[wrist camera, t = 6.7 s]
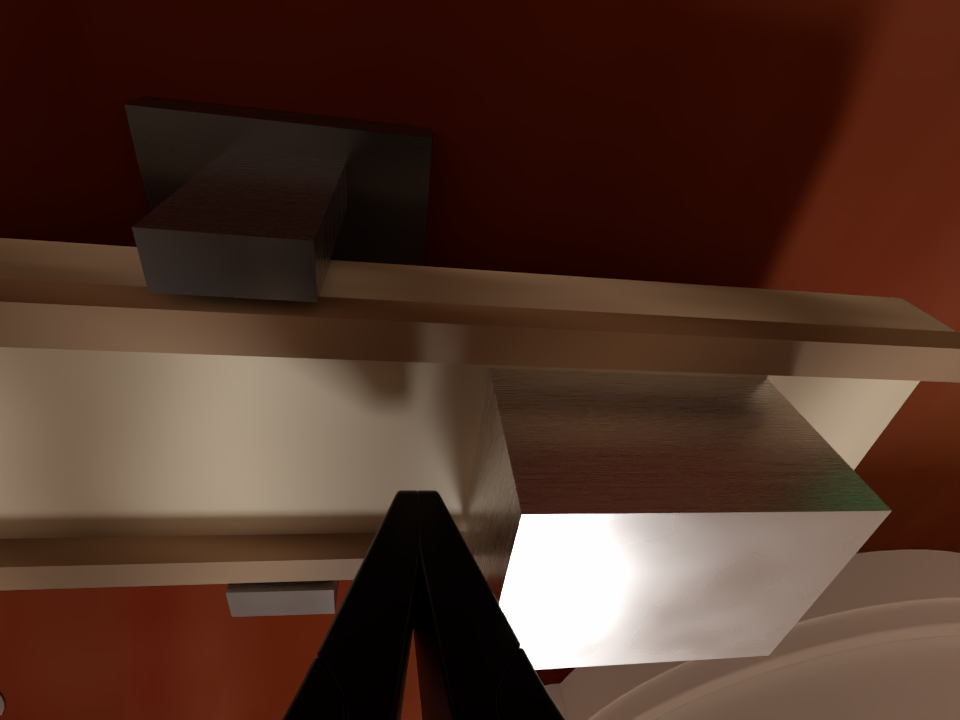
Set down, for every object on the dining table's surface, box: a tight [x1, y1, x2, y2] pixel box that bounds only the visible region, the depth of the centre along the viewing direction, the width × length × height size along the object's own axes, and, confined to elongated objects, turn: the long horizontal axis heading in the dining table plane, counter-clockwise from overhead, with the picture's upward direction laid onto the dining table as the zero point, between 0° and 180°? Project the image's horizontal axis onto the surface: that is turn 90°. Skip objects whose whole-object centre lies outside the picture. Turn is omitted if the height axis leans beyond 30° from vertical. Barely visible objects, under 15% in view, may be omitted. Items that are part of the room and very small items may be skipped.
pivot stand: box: [124, 97, 432, 617], centre depth 12 cm, size 6×11×6 cm, turn 173°
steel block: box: [465, 368, 892, 670], centre depth 10 cm, size 6×4×4 cm
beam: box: [0, 238, 960, 590], centre depth 12 cm, size 24×7×3 cm, turn 83°
